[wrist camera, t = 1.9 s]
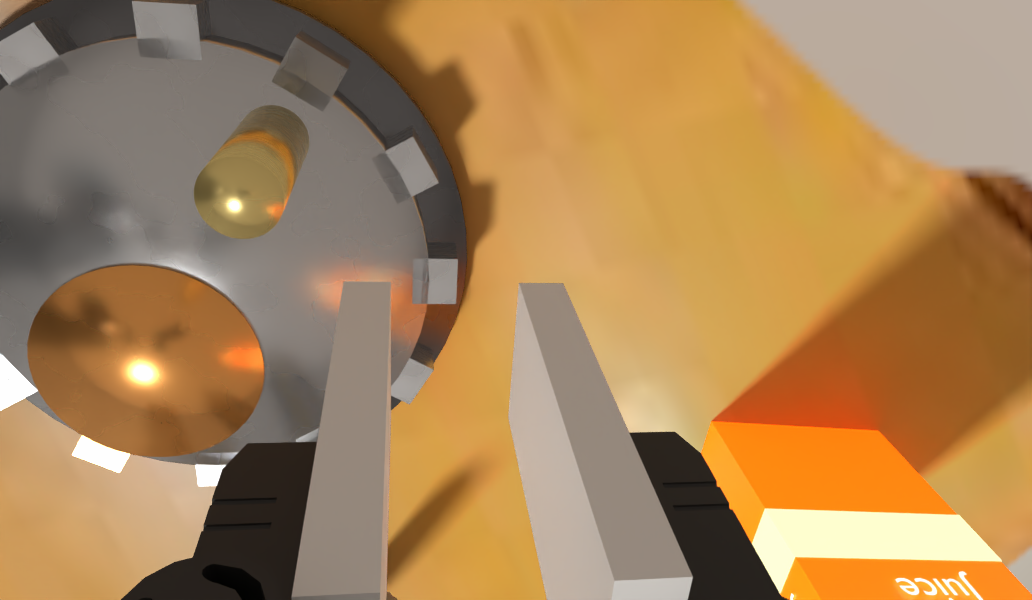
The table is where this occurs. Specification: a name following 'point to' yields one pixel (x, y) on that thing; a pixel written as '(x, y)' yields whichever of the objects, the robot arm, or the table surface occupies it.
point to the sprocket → (197, 236)
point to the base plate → (367, 84)
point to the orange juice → (849, 517)
